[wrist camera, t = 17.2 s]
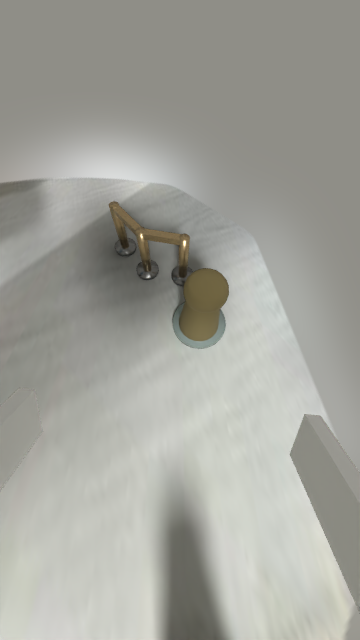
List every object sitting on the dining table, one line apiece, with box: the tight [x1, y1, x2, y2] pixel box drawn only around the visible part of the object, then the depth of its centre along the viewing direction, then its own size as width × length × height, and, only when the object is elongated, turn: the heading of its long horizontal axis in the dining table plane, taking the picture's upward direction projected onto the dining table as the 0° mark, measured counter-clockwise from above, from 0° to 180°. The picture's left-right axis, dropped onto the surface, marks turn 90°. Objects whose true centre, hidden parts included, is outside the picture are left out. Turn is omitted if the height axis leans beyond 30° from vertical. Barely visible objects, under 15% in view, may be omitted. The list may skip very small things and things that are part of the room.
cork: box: [179, 268, 229, 341], centre depth 30 cm, size 6×6×11 cm
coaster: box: [173, 302, 226, 349], centre depth 35 cm, size 8×8×1 cm
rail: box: [109, 201, 193, 286], centre depth 36 cm, size 15×8×9 cm, turn 79°
